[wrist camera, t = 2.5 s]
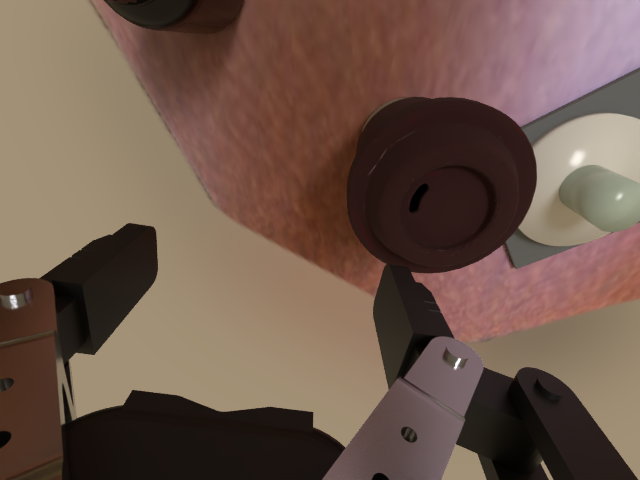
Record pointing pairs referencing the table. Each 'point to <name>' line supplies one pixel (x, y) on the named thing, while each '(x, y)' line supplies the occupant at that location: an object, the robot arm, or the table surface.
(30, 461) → the robot arm
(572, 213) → the lid
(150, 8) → the supplement bottle
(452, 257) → the coffee cup
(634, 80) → the mat
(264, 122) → the table surface
